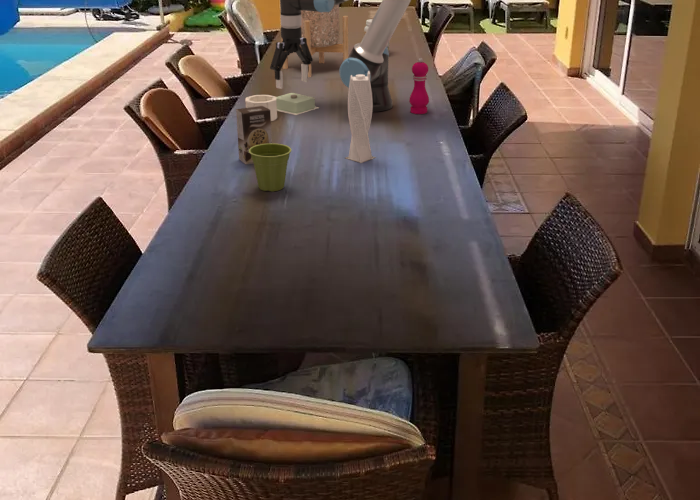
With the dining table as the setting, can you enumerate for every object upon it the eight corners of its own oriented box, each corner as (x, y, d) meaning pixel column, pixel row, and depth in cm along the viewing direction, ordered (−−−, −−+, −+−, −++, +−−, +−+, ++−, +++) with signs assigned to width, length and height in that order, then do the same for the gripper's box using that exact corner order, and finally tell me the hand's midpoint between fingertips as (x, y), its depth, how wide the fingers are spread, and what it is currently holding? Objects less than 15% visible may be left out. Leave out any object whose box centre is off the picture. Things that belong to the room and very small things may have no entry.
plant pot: (276, 198, 216) (274, 159, 211) (242, 190, 222) (239, 151, 217) (301, 185, 225) (299, 147, 220) (268, 177, 231) (266, 140, 226)
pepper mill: (427, 115, 289) (429, 60, 281) (407, 114, 291) (409, 59, 282) (429, 109, 296) (431, 56, 287) (410, 108, 297) (411, 55, 288)
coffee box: (245, 165, 241) (242, 113, 234) (238, 159, 246) (234, 108, 239) (273, 160, 245) (270, 109, 238) (265, 154, 250) (262, 104, 243)
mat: (319, 108, 298) (319, 107, 298) (296, 116, 289) (296, 115, 289) (292, 102, 306) (292, 101, 306) (269, 109, 297) (268, 108, 297)
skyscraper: (379, 159, 245) (380, 69, 233) (362, 166, 240) (362, 74, 228) (359, 153, 251) (359, 65, 239) (342, 160, 245) (340, 70, 233)
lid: (315, 108, 298) (314, 95, 296) (296, 113, 291) (296, 100, 289) (291, 102, 305) (291, 90, 302) (273, 108, 298) (273, 95, 296)
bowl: (283, 118, 287) (282, 98, 283) (261, 125, 279) (260, 104, 276) (262, 113, 293) (261, 93, 290) (240, 119, 285) (239, 99, 282)
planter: (350, 70, 356) (348, -4, 342) (307, 78, 345) (304, 1, 330) (323, 62, 373) (320, -10, 359) (281, 69, 361) (277, -5, 347)
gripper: (306, 20, 295) (307, 77, 305) (258, 29, 278) (261, 89, 287) (321, 23, 291) (322, 80, 300) (274, 32, 274) (275, 92, 283)
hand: (292, 84), depth 294 cm, fingers open, 13 cm apart
